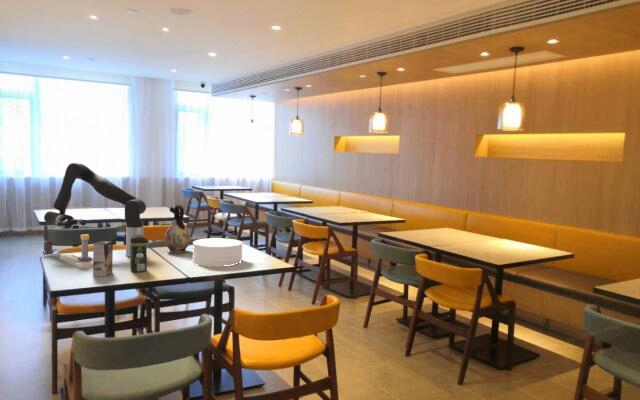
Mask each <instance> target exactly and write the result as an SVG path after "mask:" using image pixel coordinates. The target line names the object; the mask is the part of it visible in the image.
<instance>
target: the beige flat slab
mask: <svg viewBox="0 0 640 400" xmlns="http://www.w3.org/2000/svg"><path fill="white" fill-rule="evenodd" d="M59 257H60V258H59V260H60V261H63V262H64V263H66V264H69V265H71V266H74V267H75V268H78V269H79V270H83V269H84V270H85V269H90V268H93V257H91V258H92V260H88V261H79V260H78V258H79V257H82V253H74V254H65V255H60V256H59Z"/></svg>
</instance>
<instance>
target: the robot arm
mask: <svg viewBox="0 0 640 400" xmlns="http://www.w3.org/2000/svg"><path fill="white" fill-rule="evenodd" d="M77 179H78V180H81V181H83V182H86V183H87V184H88V185H90V186H91V187H92V188H93V190H94V191H95V192H96V193H98V194H100V196H103V198H106V199H108V200H110V201H113V202H117V203H120V204H122V205H124V221H125V225H126V228H125V229H126V233H125V237H126V239H125V240H126V241H125V249H126V250H125V256H126V257H130V241H131V237H132V236H134V235H143V236H144V222H143V221H142V220H141V215H142V214H144V213H145V212H146V209H147V206H146V203H145V202H144V201H143V200H142V199H140V198H138V197H136V196H134V195H131V194H130V193H129V192H127V191H125V190H124V189H122V188H121V187H119V186H118V185H116V184H114V182H111V181H110V180H108V179H106V178H104V177H103V176H100V175H99V174H97V173H96V172H94V171H93V170H92V169H90V168H89V167H88V166H87V165H85V164H83V163H78V162H71V163H69V164H68V166H67V167H66V169H65V172H64V176H63V180H62V184H61V186H60V190H59V192H58V194H57V196H56V199H55V200H54V203H53V208H54V209H55V210H57V211H59V212H57V211H52V210H50V211H47V212H46V213H45V214H44V216H43V219H44V222H45V223H48V224H51V225H55V226H56V227H59V228H60V227H61V228H63V229H71V228H72V227H73V226H74V227H75V226H85V225H87V220H86V219H83V218H82V219H81V218H80V219H76V218H74V217H73V216H72V215H69V214H66V211H67V208H68V206H69V203H70V201H71V198H72V192H73V191H72V189H73V185H74V183H75V181H76V180H77Z"/></svg>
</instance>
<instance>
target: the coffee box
mask: <svg viewBox="0 0 640 400" xmlns="http://www.w3.org/2000/svg"><path fill="white" fill-rule="evenodd" d="M113 244H114V240H113V241H112V240H99V241H97V242H95V243H93V244H92V245H93V249H92V252H93V255H92V258H93V267H92V277H107V276H109V275H110V274H112V273H113V265H114V264H113V255H114V254H113V252H114V251H113V250H114V247H113V246H114V245H113Z"/></svg>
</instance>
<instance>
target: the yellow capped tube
mask: <svg viewBox="0 0 640 400" xmlns="http://www.w3.org/2000/svg"><path fill="white" fill-rule="evenodd" d="M80 240H81V254H82V257H79V258H78V260H79V261H88V260H92V258H93V257H91V256H90V255H89V240H90V234H88V233H86V234H85V233H84V234H80Z"/></svg>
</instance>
